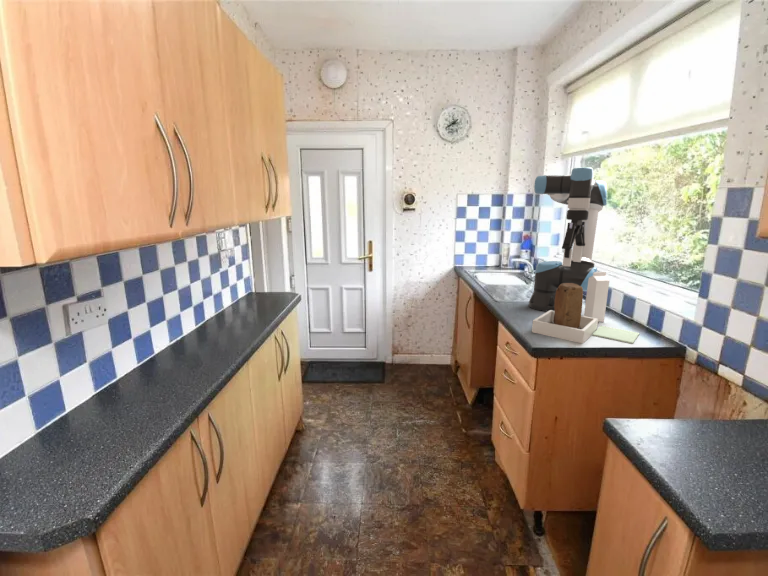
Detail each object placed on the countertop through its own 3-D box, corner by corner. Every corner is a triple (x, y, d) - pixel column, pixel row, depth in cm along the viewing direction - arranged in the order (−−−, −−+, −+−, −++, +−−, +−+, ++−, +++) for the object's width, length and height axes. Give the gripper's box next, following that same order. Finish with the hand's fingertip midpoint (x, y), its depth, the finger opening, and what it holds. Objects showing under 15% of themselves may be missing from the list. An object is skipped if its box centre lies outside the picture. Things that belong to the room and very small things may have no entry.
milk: (604, 321, 173) (611, 273, 168) (591, 322, 173) (597, 273, 168) (595, 317, 179) (602, 270, 174) (583, 317, 179) (589, 270, 174)
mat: (600, 326, 166) (601, 325, 166) (639, 334, 157) (639, 332, 157) (592, 335, 156) (592, 334, 156) (632, 343, 147) (632, 342, 147)
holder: (549, 320, 175) (550, 309, 174) (596, 330, 162) (598, 318, 161) (531, 332, 160) (532, 320, 159) (582, 343, 147) (584, 331, 146)
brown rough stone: (580, 335, 156) (586, 287, 151) (562, 335, 155) (567, 287, 151) (566, 326, 166) (571, 281, 162) (549, 327, 166) (554, 281, 161)
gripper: (577, 208, 161) (571, 259, 166) (557, 209, 143) (551, 266, 148) (597, 209, 156) (590, 261, 161) (579, 210, 138) (572, 269, 143)
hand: (571, 263), depth 154 cm, fingers open, 13 cm apart
